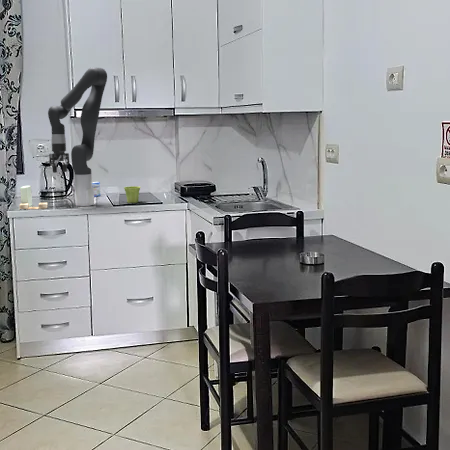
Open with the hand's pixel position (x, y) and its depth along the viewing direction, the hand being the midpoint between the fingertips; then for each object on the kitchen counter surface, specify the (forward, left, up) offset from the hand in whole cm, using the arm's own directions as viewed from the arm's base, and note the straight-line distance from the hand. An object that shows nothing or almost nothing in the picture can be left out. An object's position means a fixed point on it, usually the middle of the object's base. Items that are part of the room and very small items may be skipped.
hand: (60, 172), depth 370 cm
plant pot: (-35, -18, -18) cm, 43 cm away
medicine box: (+1, -36, -18) cm, 40 cm away
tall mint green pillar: (+15, +11, -18) cm, 26 cm away
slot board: (+7, +16, -18) cm, 25 cm away
